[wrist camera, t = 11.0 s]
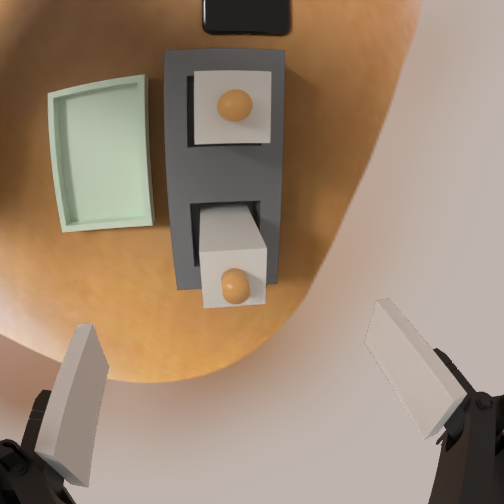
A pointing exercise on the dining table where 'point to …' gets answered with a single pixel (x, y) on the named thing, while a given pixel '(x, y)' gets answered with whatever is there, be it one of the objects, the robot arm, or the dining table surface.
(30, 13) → the dining table surface
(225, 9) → the smartphone
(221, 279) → the plug
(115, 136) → the tray
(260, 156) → the gray block holder
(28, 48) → the dining table surface
